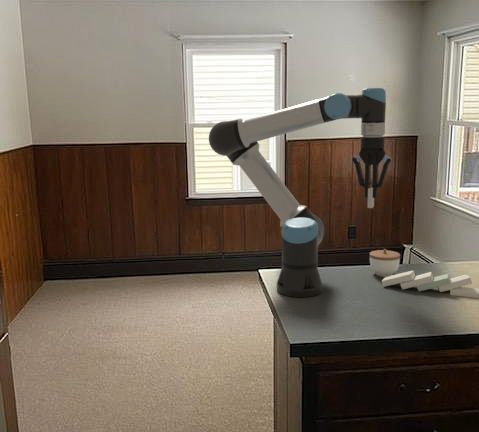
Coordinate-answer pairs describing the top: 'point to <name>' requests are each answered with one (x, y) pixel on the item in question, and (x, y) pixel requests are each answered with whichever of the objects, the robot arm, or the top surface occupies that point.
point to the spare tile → (435, 282)
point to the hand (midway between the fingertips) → (370, 207)
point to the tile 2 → (418, 280)
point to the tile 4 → (456, 283)
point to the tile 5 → (465, 292)
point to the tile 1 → (398, 278)
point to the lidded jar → (384, 262)
